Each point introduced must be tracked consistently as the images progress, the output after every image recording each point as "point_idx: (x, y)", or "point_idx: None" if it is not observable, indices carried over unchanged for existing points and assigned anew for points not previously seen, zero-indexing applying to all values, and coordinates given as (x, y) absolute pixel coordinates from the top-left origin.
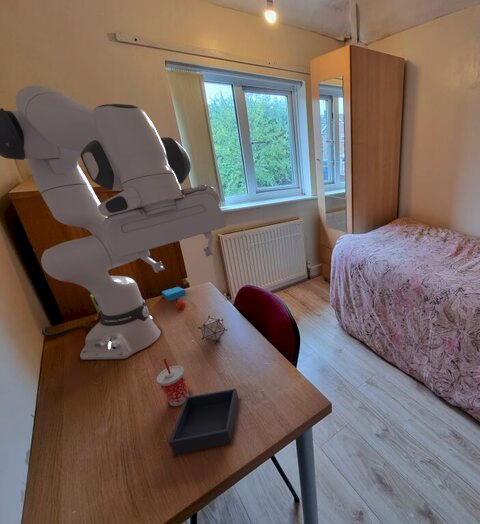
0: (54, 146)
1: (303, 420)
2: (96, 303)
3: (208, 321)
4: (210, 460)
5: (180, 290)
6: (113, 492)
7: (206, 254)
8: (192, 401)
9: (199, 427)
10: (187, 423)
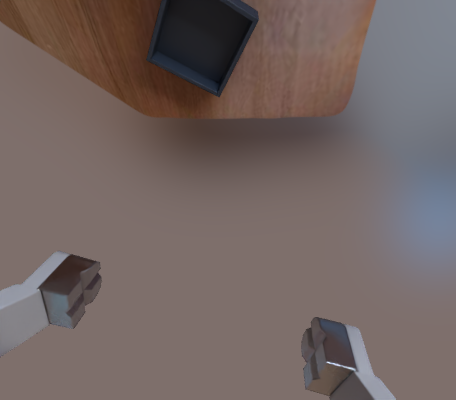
0: None
1: (306, 116)
2: None
3: None
4: (194, 90)
5: None
6: (87, 52)
7: (305, 350)
8: None
9: (187, 32)
10: (171, 7)
